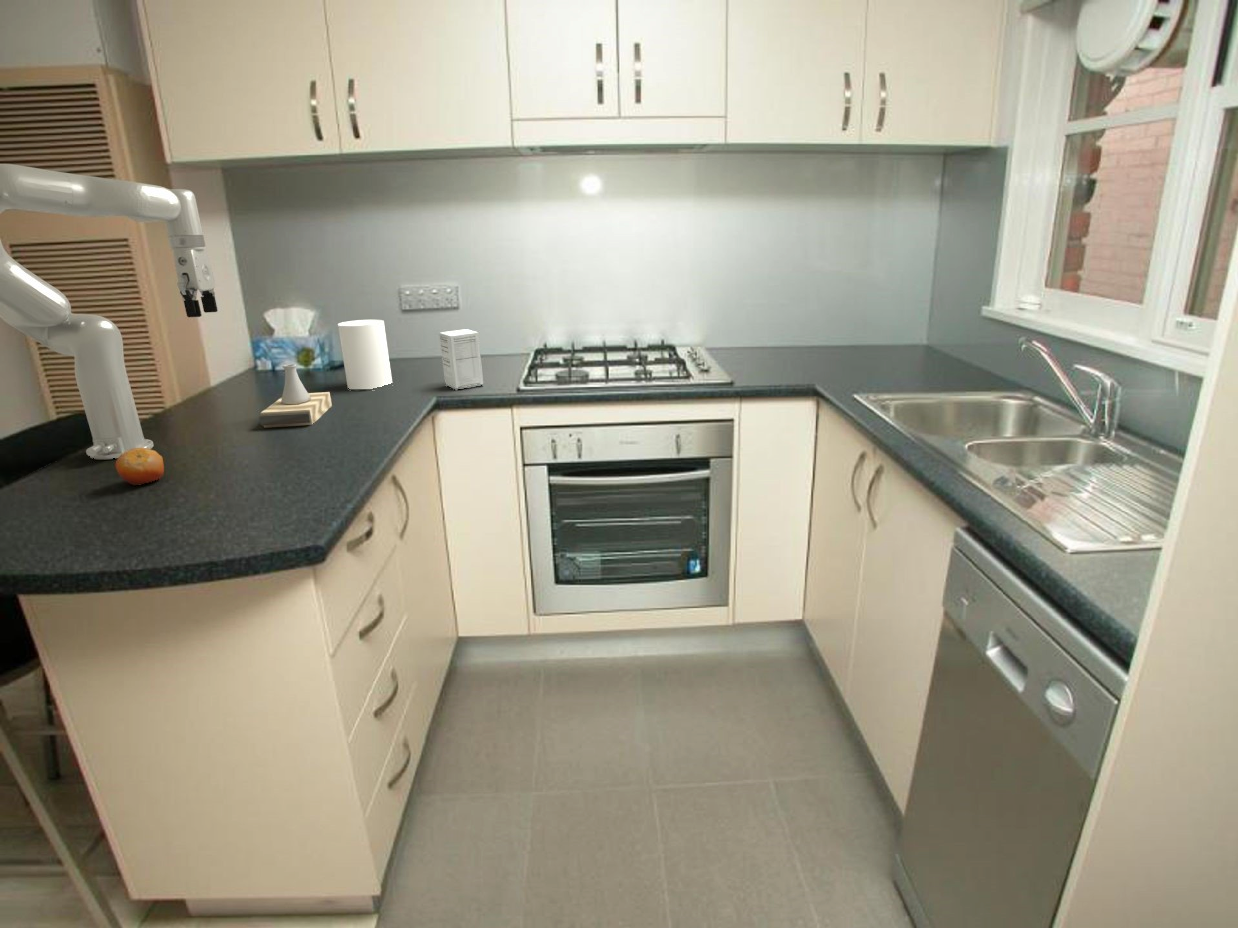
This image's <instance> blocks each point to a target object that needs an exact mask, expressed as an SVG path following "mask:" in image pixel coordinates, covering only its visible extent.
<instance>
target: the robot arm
mask: <svg viewBox="0 0 1238 928" xmlns="http://www.w3.org/2000/svg"><path fill="white" fill-rule="evenodd" d="M7 210H19V211H20V210H22V211H31V212H38V213H39V212H40V213H49V214H57V215H58V214H59V215H64V216H74V217H86V218H87V217H89V218H101V217H125V218H126V217H127V218H128V219H130V220H132V221H135V222H136V223H147V224H148V223H160V222H161V223H162V222H164V224H165V225H164V226H165V230H166V234H167V237H168V243H169V247H170V251H172V253H173V260H174V267H175V271H176V277H177V287H178V289H179V294H180V296H181V299H182V301H183V304H184V309H185V313H186V317H187V318H200V317H202V311H201V306H200V302H199V299H197V297H198V291H199V292H200V295H201V296H200V301H201V305H202V309H203V312H204V313H218V305H217V300H216V296H215V295H216V293H215V291H214V289H215V288H216V286H217V285H216V279H215V277H214V274H213V273H214V271H213V269H212V265H211V262H210V258H209V255H208V253H207V251H206V250H207V247H206V243H205V237H204V233H203V228H202V224H201V219H200V215H199V209H198V204H197V199H196V195H195V194H194V192H193V191H192V190H190V189H185V188H184V189H183V188H178V189H177V188H175V189H174V188H173V189H172V188H171V189H169V188H166V187H164V186H160V185H155V184H149V183H145V182H143V183H142V182H136V181H130V180H123V179H114V178H105V177H98V176H93V175H92V176H91V175H83V174H76V173H69V172H64V171H56V170H49V169H45V168H44V169H43V168H37V167H33V166H32V167H31V166H26V165H20V164H11V163H0V215H1V214H2V213H3V212H4V211H7ZM0 318H1V320H3V321H4V322H5V323H7V324H8V325H9V326H11V327H13V328H14V329H16V330H17V331H19V332H21V333H22V334H25V336H27V337H28V338H31V339H32V340H34V341H36V342H37V343H39V344H41V345H43V346H44V347H45V348H48V349H50V350H51V351H54V352H55V353H57V354H61V355H63V356H69V357H74V377H75V381H76V385H77V389H78V392H79V395H80V397H81V401H82V405H83V409H84V412H85V415H86V419H87V423H88V426H89V429H90V434H91V437H92V443H93V445H92V446H90V447H89V448H87V449H86V450H85V452H86V456H88V457H89V456H90V457H89V458H90V459H93V458H94V460H114V459H113V458H115V459H118V458H119V457H120V456H121V455H122V454H123V453H124V452H126V451H129V450H131V449H134V448H139V447H140V448H145V449H150V450H152V449H153V447H154V441H153V440H151V439H146V438H145V437H144V433H143V430H142V426H141V422H140V419H139V414H138V411H137V407H136V403H135V399H134V395H133V391H132V389H131V384H130V380H129V377H128V373H127V368H126V364H125V357H124V356H125V354H124V341H123V336H122V334H121V331H120V329H119V327H117V325H116V324H115V323H114V322H113V321H111V320H110V319H108V318H106V317H105V316H102V315H98V314H94V313H93V314H92V313H90V314H89V313H74V312H72V306H71V303H70V301H69V299H68V297H67V296H66V295H65V294H64V293H62V291H61V290H59V289H58V288H56V287H55V286H53V285H52V284H50V283H48V282H47V281H46V280H44V279H43V278H41V277H39V276H38V275H36V274H35V273H34V272H32V271H30V270H29V269H27V268H26V267H24V266H23V265H21V264H20V263H19V262H18V261H17V260H15V259H14V258H12V257H11V256H10V254H9V253H7V251H6V250H5V248H4V246H3V243H2V239H1V238H0Z"/></svg>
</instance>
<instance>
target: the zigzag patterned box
mask: <svg viewBox="0 0 1238 928" xmlns="http://www.w3.org/2000/svg"><path fill="white" fill-rule="evenodd" d="M308 394H309V396H310V397H311V399H310V400H309V401H307V402H303V403H300V404H282V403H281V400H282V396H281V397H280V398H278V399H277V400H276V401H275V402H273V403H272V404H270V405H269V406H267V407H266V408H265V409H263V410H262V411H261V412H260V415H259V417H258V418H259V424H260V426H261V427H262V426H263V428H265V429H266V428H267V429H269V428H280V427H281V428H282V427H296V426H299V427H300V426H312V425H313V423H314V424H315V422H317V421H318V420H319V419H321V418H322V416H323V415H324V414H325V413H326V412H327V411H328V410H329V409H330V408H332V406H333V405H332V404H333V403H332V398H331V393H330V391H325V392H308Z"/></svg>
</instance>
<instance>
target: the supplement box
mask: <svg viewBox="0 0 1238 928" xmlns="http://www.w3.org/2000/svg"><path fill="white" fill-rule="evenodd" d="M438 336H439V343H440V352H441V353H440V354H441V361H442V368H443V375H444V384H445V383H446V384H448V385H451V386H452V387H455V388H458V387H467V386H471V385H477V384H483V383H484V376H483V367H482V357H481V346H480V338H479V332H478V331H474V330H471V329H468V328H467V329H458V330H450V331H443V332H439V333H438Z"/></svg>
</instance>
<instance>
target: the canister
mask: <svg viewBox="0 0 1238 928" xmlns="http://www.w3.org/2000/svg"><path fill="white" fill-rule="evenodd" d="M337 327H338V328H337V329H338V335H339V340H340V347H341V353H342V359H343V365H344V372H345V378H346V379H345V380H346V385H347V389H348V388H349V389H373V388H377V387H382V386H384V385H388V384H391V383H393V377H392V371H391V364H390V363H391V362H390V357H389V348H388V342H387V341H388V340H387V334H386V328H385V327H386V326H385V321H384V320H382V319H357V320H349V321H348V320H347V321H342V322H339V323H338V324H337ZM349 389H348V390H349Z"/></svg>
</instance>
